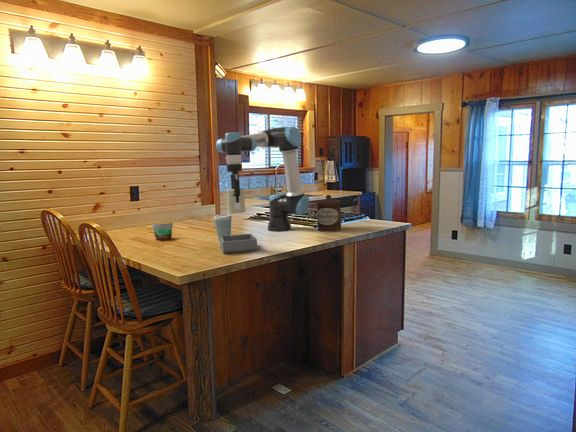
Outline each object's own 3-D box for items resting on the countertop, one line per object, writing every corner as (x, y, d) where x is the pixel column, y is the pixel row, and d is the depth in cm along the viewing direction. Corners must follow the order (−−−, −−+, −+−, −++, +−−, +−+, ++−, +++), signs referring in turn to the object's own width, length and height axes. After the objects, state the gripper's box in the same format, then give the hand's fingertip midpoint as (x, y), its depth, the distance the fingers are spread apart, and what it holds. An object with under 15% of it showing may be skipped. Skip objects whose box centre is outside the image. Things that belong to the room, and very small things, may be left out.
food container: (153, 241, 242) (152, 225, 240) (152, 240, 247) (151, 223, 246) (175, 239, 246) (174, 223, 245) (174, 237, 252) (172, 221, 250)
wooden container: (315, 231, 255) (314, 196, 252) (320, 227, 269) (319, 193, 266) (339, 231, 251) (338, 196, 248) (343, 227, 265) (342, 193, 262)
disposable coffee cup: (229, 242, 231) (228, 216, 229) (211, 242, 233) (210, 216, 231) (235, 238, 241) (234, 213, 239) (218, 238, 244) (216, 213, 242)
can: (228, 213, 206) (226, 189, 204) (227, 211, 214) (225, 188, 213) (246, 212, 207) (245, 188, 206) (244, 210, 216) (243, 187, 215)
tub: (252, 244, 224) (251, 233, 223) (257, 250, 207) (256, 239, 207) (220, 247, 220) (219, 236, 219) (223, 254, 203) (222, 242, 203)
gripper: (224, 163, 217) (226, 206, 220) (228, 164, 196) (231, 211, 199) (238, 163, 219) (240, 205, 222) (244, 163, 198) (246, 209, 201)
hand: (236, 208), depth 211 cm, fingers closed on can, 9 cm apart
